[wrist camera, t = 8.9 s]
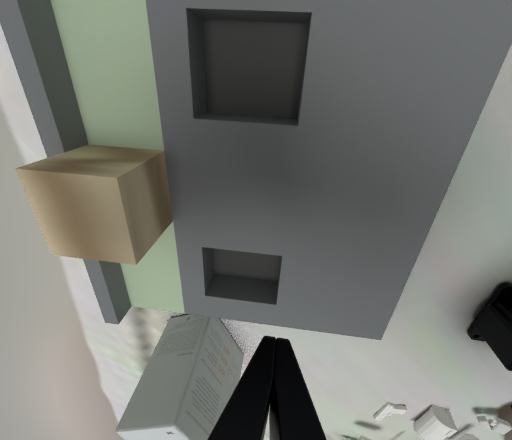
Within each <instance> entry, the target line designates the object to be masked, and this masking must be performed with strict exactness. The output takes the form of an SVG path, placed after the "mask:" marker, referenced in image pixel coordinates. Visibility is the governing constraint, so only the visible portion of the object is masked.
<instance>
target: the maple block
mask: <svg viewBox="0 0 512 440" xmlns="http://www.w3.org/2000/svg"><path fill="white" fill-rule="evenodd" d="M16 171H17V173H18V175H19V178H20V180H21V183H22V185H23V188H24V190H25V192H26V195H27V197H28V200H29V202H30V204H31V207H32V209H33V211H34V214H35V216H36V219H37V221H38V223H39V226H40V228H41V231H42V233H43V235H44V238H45V240H46V243H47V245H48V247H49V250H50V252H51V254H52V255H58V256H66V257H74V258H82V259H90V260H99V261H107V262H115V263H123V264H131V265H137V264H138V263H139V261H140V260H141V259H142V258H143V257H144V255H145V254H146V253H147V252H148V251H149V249H150V248H151V247H152V246H153V245H154V243H155V242H156V241H157V240H158V238H159V237H160V236H161V235H162V234H163V232H164V231H165V230H166V229H167V228H168V226H169V225H170V224H171V223H172V222H173V216H172V208H171V200H170V192H169V184H168V176H167V168H166V160H165V151H162V150H150V149H137V148H125V147H113V146H101V145H86V146H83V147H80V148H76V149H73V150H70V151H67V152H64V153H61V154H58V155H55V156H52V157H49V158H46V159H43V160H40V161H37V162H34V163H31V164H28V165H25V166H22V167H19V168H16Z"/></svg>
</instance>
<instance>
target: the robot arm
mask: <svg viewBox="0 0 512 440" xmlns="http://www.w3.org/2000/svg"><path fill="white" fill-rule="evenodd" d="M467 334H468V335H469V337H470V338H471V339H473V340H479V341H486V342H487V343H488V345H489V346H490V347H491V349H492V350H493V351H494V353H495V354H496V356H497V357H498V358H499V360H500V361H501V362H502V364H503V365H504V366H505V368H506V369H507V370H509V371H512V284H510V283H504V284H502V285H500V286H499V287H498V288H497V290H496V291H495V292H494V294H493V295H492V297H491V298H490V300H489V301H488V303H487V304H486V306H485V307H484V309H483V310H482V312H481V313H480V315H479V316H478V317H477V319H476V320H475V322H474V323H473V325H472V326H471V328H470V329H469V331H468V333H467ZM269 406H270V410H269ZM510 406H511V408H512V404H511V405H510ZM268 413H269V424H270V440H326V437H325V434H324V431H323V429H322V426H321V423H320V421H319V418H318V415H317V413H316V410H315V407H314V405H313V402H312V399H311V397H310V394H309V391H308V389H307V386H306V383H305V381H304V378H303V375H302V373H301V370H300V367H299V365H298V362H297V359H296V357H295V354H294V351H293V349H292V346H291V343H290V341H289V340H288V339H284V338H277V339H276V338H275V337H270V336H264V337H263V338H262V340H261V342H260V344H259V346H258V347H257V349H256V351H255V353H254V355H253V357H252V358H251V360H250V362H249V364H248V366H247V368H246V369H245V371H244V373H243V375H242V377H241V379H240V380H239V382H238V384H237V386H236V388H235V390H234V391H233V393H232V395H231V397H230V399H229V401H228V402H227V404H226V406H225V408H224V410H223V412H222V413H221V415H220V417H219V419H218V421H217V423H216V424H215V426H214V428H213V430H212V432H211V434H210V435H209V437H208V439H207V440H263V439H264V434H265V429H266V424H267V419H268Z"/></svg>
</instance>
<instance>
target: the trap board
mask: <svg viewBox="0 0 512 440" xmlns="http://www.w3.org/2000/svg"><path fill="white" fill-rule="evenodd" d="M0 23H1V26H2V29H3V32H4V35H5V38H6V40H7V43H8V46H9V49H10V52H11V55H12V58H13V60H14V63H15V66H16V69H17V72H18V75H19V78H20V80H21V83H22V86H23V89H24V92H25V95H26V98H27V100H28V103H29V106H30V109H31V112H32V115H33V118H34V120H35V123H36V126H37V129H38V132H39V135H40V138H41V140H42V143H43V146H44V149H45V152H46V155H47V158H49V157H52V156H55V155H58V154H61V153H64V152H67V151H70V150H73V149H76V148H80V147H83V146H86V145H101V146H113V147H125V148H137V149H150V150H162V151H165V160H166V168H167V176H168V184H169V192H170V200H171V208H172V216H173V222H172V223H171V224H170V225H169V226H168V228H167V229H166V230H165V231H164V232H163V234H162V235H161V236H160V237H159V238H158V240H157V241H156V242H155V243H154V245H153V246H152V247H151V248H150V249H149V251H148V252H147V253H146V254H145V255H144V257H143V258H142V259H141V260H140V261H139V263H138V264H137V265H131V264H123V263H115V262H107V261H99V260H90V259H83V260H84V263H85V266H86V269H87V272H88V275H89V278H90V280H91V283H92V286H93V289H94V292H95V295H96V298H97V300H98V303H99V306H100V309H101V312H102V315H103V318H104V320H105V323H112V324H119V323H120V322H121V320H122V319H123V317H124V316H125V315H126V313H127V312H128V310H129V309H130V308H131V306H134V307H142V308H149V309H156V310H164V311H171V312H178V313H186V314H193V315H200V316H208V317H215V318H223V319H230V320H237V321H245V322H252V323H259V324H267V325H274V326H281V327H289V328H296V329H303V330H311V331H318V332H326V333H333V334H340V335H348V336H355V337H362V338H370V339H377V340H381V339H382V337H383V334H384V332H385V330H386V327H387V325H388V323H389V321H390V318H391V316H392V314H393V312H394V309H395V307H396V305H397V302H398V300H399V298H400V296H401V293H402V291H403V289H404V287H405V284H406V282H407V280H408V277H409V275H410V273H411V271H412V268H413V266H414V264H415V262H416V259H417V257H418V255H419V253H420V250H421V248H422V246H423V243H424V241H425V239H426V237H427V234H428V232H429V230H430V228H431V225H432V223H433V221H434V218H435V216H436V214H437V212H438V209H439V207H440V205H441V203H442V200H443V198H444V196H445V194H446V191H447V189H448V187H449V184H450V182H451V180H452V178H453V175H454V173H455V171H456V169H457V166H458V164H459V162H460V159H461V157H462V155H463V153H464V150H465V148H466V146H467V144H468V141H469V139H470V137H471V134H472V132H473V130H474V128H475V125H476V123H477V121H478V119H479V116H480V114H481V112H482V110H483V107H484V105H485V103H486V100H487V98H488V96H489V94H490V91H491V89H492V87H493V85H494V82H495V80H496V78H497V75H498V73H499V71H500V69H501V66H502V64H503V62H504V60H505V57H506V55H507V53H508V50H509V48H510V46H511V44H512V0H0Z"/></svg>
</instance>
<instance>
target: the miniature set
mask: <svg viewBox="0 0 512 440" xmlns="http://www.w3.org/2000/svg"><path fill="white" fill-rule="evenodd" d="M406 411H407V409H406V406H403V405H394V404H392V403H389V402H387V403H386V404H385V405H384V406H383V407H382V408H381V409H380V410H379V411H378V412H377V413H376V414H375V415H374V420H375V421H378V422H380V421H381V420H382V419H383V418H384V417H385V416H386V415H387V416H390V415H392V414H393V413H398V414H402V415H404V414H405V413H406ZM388 413H390V414H388ZM477 419H478V422H479V424H480V426H481V428H482V429H483V430H484V431H487V430H493V431H495V432H497V433H500V434H502V435H504V434H505V433H507V432H508V431H510V430H511V429H512V427H511V426H510V424H509V422H506V421H504V420H502V419H499V418H497V419H493V420H492V419H489V420H490V421H491V422H490V421H489V420H488V421H487V419H486V417H485V416H477ZM413 428H414V431H415V433H416V434H417V436H418V437H419V438H420V439H421V440H444V439H445V438H446V437H450V436H451V435H453V434H454V433H455V432H457V428H456V426H455V423H454V421H453V418H452V416H451V413H450V411H449V409H443V408H439V407H436V406H433V405H432V406H431V407H430V409H429V410H428V411H427V412H425V413H424V414H423V415H422V416H421V417H420V418H419V419H418V420H415V421H414V423H413ZM342 440H348V439H342ZM357 440H371V439H369V438H367V437H364V436H360V437H359V438H358V439H357ZM457 440H479V439H478V438H477V437H475V436H474V435H473V434H466V433H465V434H463V435H462V436H461V437H460V438H458V439H457Z"/></svg>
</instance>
